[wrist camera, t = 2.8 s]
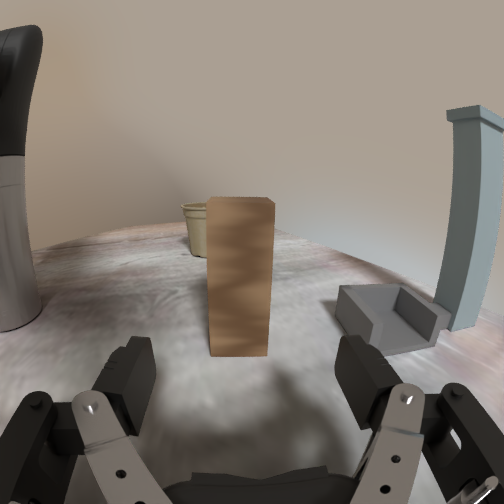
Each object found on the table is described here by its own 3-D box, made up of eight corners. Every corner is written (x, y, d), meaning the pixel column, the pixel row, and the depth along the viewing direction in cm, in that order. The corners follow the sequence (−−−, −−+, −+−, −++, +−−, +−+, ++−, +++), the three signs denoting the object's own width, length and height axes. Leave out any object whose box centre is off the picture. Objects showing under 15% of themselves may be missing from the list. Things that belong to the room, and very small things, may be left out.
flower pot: (173, 251, 50) (171, 204, 48) (215, 244, 56) (215, 200, 54) (199, 265, 43) (198, 209, 41) (245, 255, 49) (247, 205, 47)
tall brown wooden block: (210, 356, 21) (206, 202, 18) (213, 327, 26) (211, 196, 22) (266, 356, 22) (275, 203, 18) (261, 327, 26) (267, 197, 23)
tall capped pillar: (364, 359, 21) (392, 60, 14) (334, 315, 28) (350, 86, 22) (485, 332, 22) (515, 120, 15) (448, 303, 29) (468, 123, 23)
